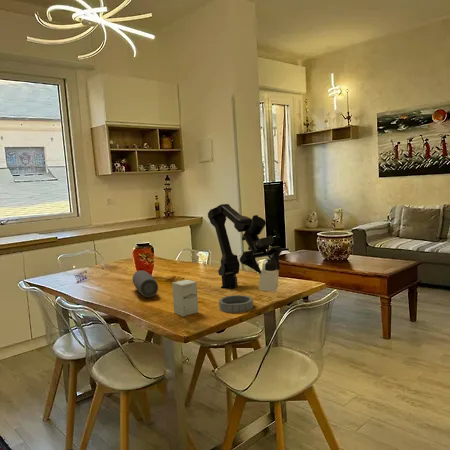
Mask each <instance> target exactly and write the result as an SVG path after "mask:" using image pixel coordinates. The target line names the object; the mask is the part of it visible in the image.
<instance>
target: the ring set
mask: <svg viewBox="0 0 450 450" xmlns="http://www.w3.org/2000/svg"><path fill="white" fill-rule="evenodd" d="M100 265H102V266H103V267H102V269H101V266H98V269H97V270H98V271H97V270H95V273H96V274H98V273H100V272H101V270H102V271H103V270H104V271H105V269H107V268H108V267H109V266H108V263H107V262H106V261H105V260H102V262H100ZM91 270H93V267H92V268H91V269H88V270H85V271H84V272H81V273H78V274H76V275H74V277H75V278H76V279H75V280H76V283H77V284H80V282H82V281H85V280H87V279H88V277H86V276H88V275H89V276H92V274H91V273H90V272H89V271H91ZM85 274H86V275H85Z"/></svg>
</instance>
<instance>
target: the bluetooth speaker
mask: <svg viewBox="0 0 450 450" xmlns="http://www.w3.org/2000/svg"><path fill="white" fill-rule="evenodd" d="M132 283H133V286H134V287H135V289H136V290H137V291H138V292H139V294H141V296H143V297H145V298H151V297H154V296H156V295H157V293H158V290H159V284H158V282H157V280H156V279H155V278H154V277H153V276H152V274H151V273H149V272H147V271H146V270H144V269H143V270H140V269H139V270H137V271H136V272H134V273H133V275H132Z"/></svg>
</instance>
